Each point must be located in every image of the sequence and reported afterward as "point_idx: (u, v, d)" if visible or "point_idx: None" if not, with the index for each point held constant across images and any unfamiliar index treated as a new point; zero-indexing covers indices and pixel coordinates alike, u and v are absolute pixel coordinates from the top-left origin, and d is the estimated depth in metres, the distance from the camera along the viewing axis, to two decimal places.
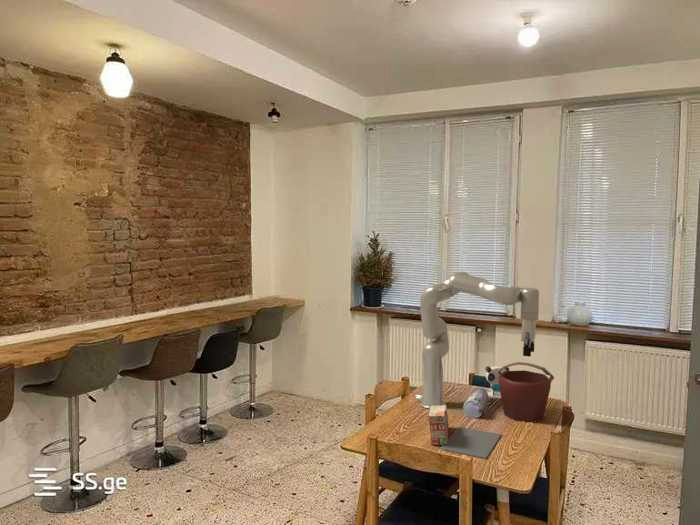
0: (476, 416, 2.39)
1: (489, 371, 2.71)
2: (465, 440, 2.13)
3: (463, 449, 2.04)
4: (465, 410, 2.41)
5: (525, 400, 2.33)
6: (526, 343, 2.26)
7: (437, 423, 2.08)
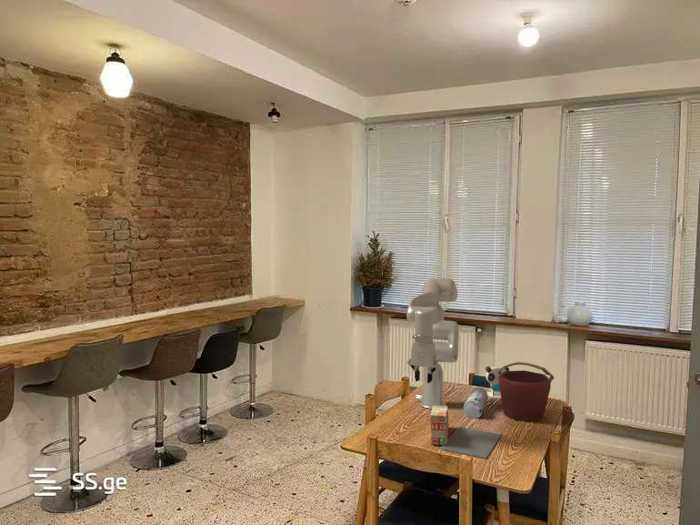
0: (476, 416, 2.39)
1: (489, 371, 2.71)
2: (465, 440, 2.13)
3: (463, 449, 2.04)
4: (465, 410, 2.41)
5: (525, 400, 2.33)
6: (436, 369, 2.18)
7: (439, 423, 2.08)
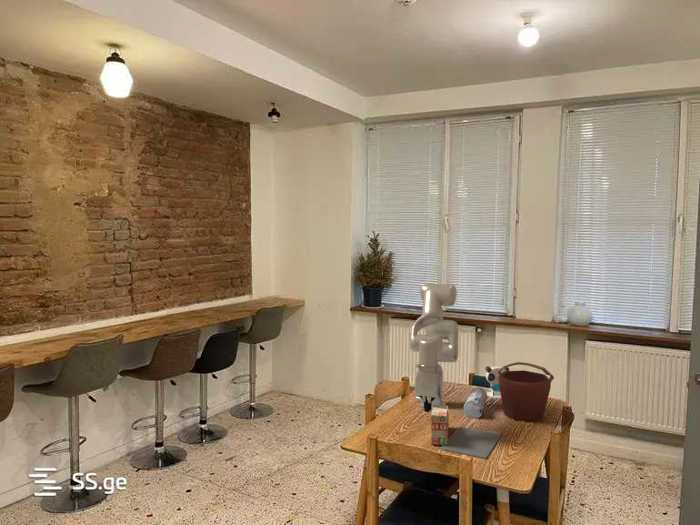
0: (476, 416, 2.39)
1: (489, 371, 2.71)
2: (465, 440, 2.13)
3: (463, 449, 2.04)
4: (465, 410, 2.40)
5: (525, 400, 2.33)
6: None
7: (439, 423, 2.07)
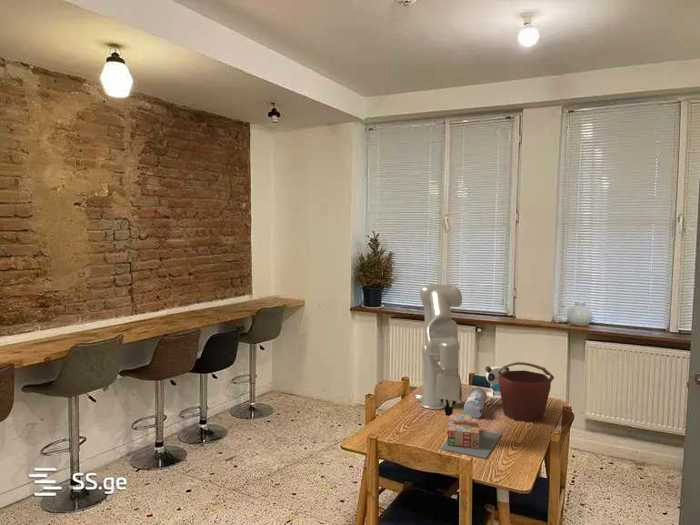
0: (477, 416, 2.39)
1: (489, 371, 2.71)
2: None
3: (463, 449, 2.04)
4: (465, 410, 2.40)
5: (525, 400, 2.33)
6: None
7: (470, 440, 2.05)
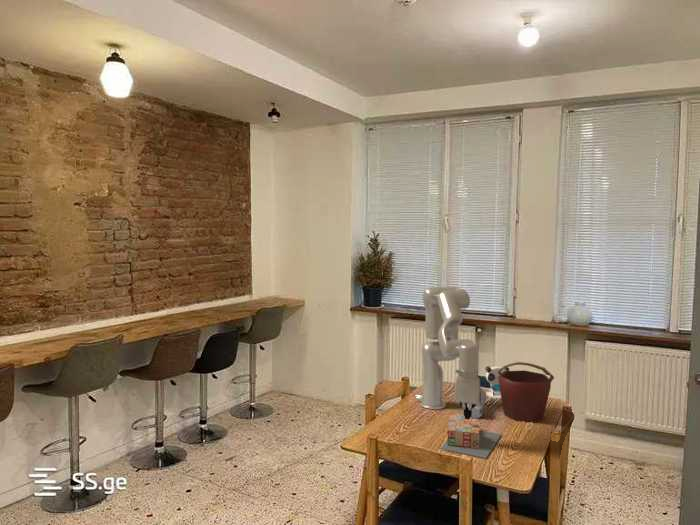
0: (477, 416, 2.39)
1: (489, 371, 2.71)
2: None
3: (463, 449, 2.04)
4: None
5: (525, 400, 2.33)
6: None
7: (470, 440, 2.05)
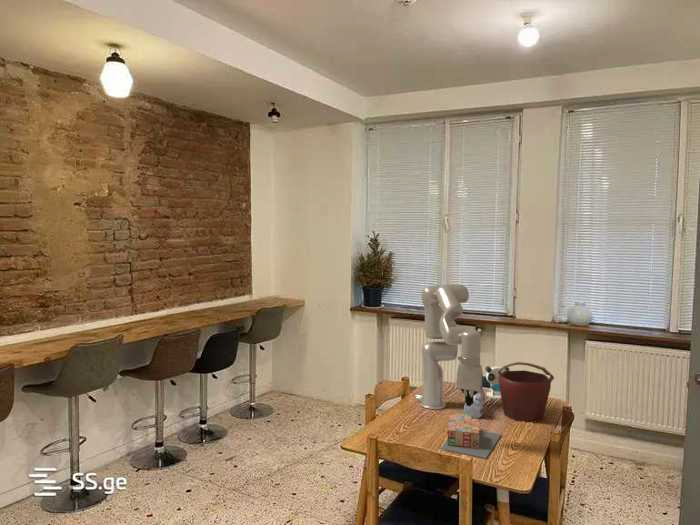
0: (477, 416, 2.39)
1: (489, 371, 2.71)
2: None
3: (463, 449, 2.04)
4: (466, 411, 2.40)
5: (525, 400, 2.33)
6: None
7: (470, 440, 2.05)
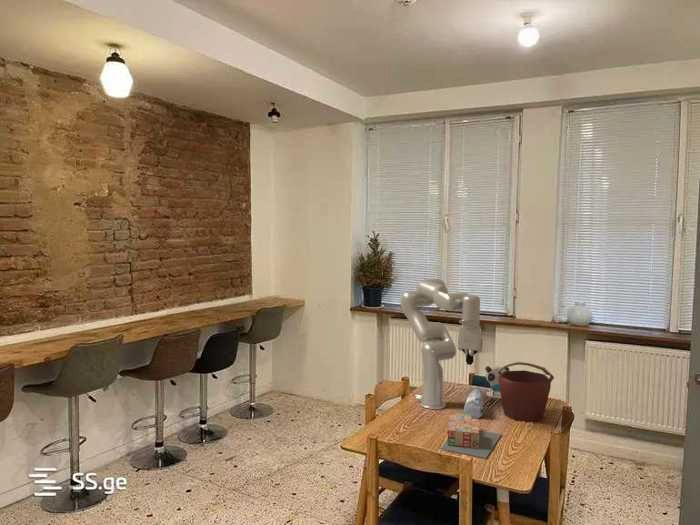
0: (477, 416, 2.39)
1: (489, 371, 2.71)
2: None
3: (463, 449, 2.04)
4: (466, 411, 2.40)
5: (525, 400, 2.33)
6: None
7: (470, 440, 2.05)
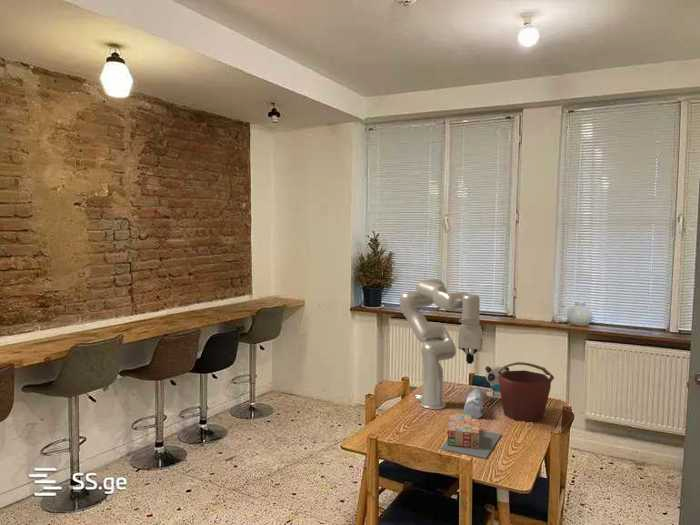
0: (477, 416, 2.39)
1: (489, 371, 2.71)
2: None
3: (463, 449, 2.04)
4: (466, 411, 2.40)
5: (525, 400, 2.33)
6: None
7: (470, 440, 2.05)
